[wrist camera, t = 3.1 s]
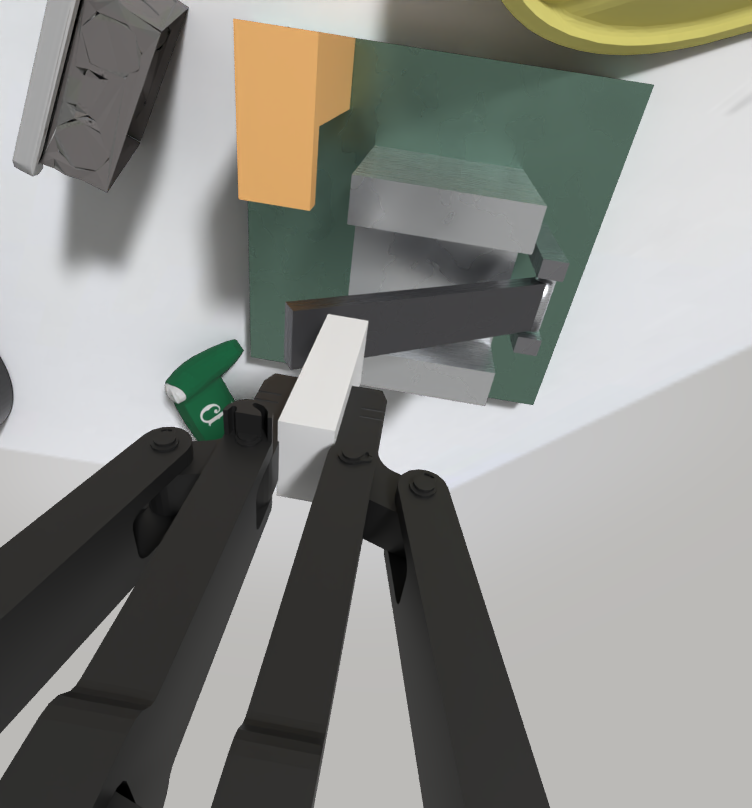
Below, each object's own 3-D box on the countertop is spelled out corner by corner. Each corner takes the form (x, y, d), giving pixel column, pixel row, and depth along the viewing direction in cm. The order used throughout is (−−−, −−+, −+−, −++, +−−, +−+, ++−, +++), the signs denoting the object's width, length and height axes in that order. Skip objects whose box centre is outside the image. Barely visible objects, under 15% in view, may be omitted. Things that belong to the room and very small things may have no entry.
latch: (290, 162, 28) (238, 199, 21) (294, 28, 25) (233, 18, 18) (344, 171, 28) (309, 210, 21) (355, 38, 24) (318, 32, 17)
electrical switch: (125, -68, 25) (8, -100, 17) (223, 9, 26) (155, 9, 19) (75, 113, 29) (-32, 148, 22) (161, 168, 31) (87, 217, 24)
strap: (282, 359, 20) (291, 372, 20) (284, 299, 19) (293, 310, 18) (530, 321, 26) (543, 330, 26) (545, 274, 25) (560, 282, 24)
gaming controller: (221, 329, 39) (149, 369, 36) (240, 338, 36) (162, 382, 33) (271, 424, 43) (209, 464, 41) (291, 438, 41) (226, 482, 38)
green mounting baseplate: (257, 346, 37) (206, 425, 29) (254, 22, 26) (171, 8, 18) (530, 393, 36) (552, 484, 29) (644, 83, 25) (730, 96, 18)
